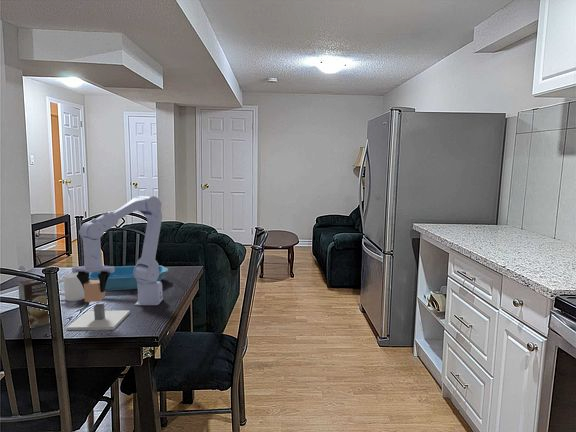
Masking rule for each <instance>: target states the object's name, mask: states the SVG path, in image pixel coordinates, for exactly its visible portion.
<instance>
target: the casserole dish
mask: <svg viewBox="0 0 576 432" xmlns="http://www.w3.org/2000/svg"><path fill="white" fill-rule="evenodd" d="M135 266H136V265H125V266H124V265H122V266H118V265H117V266H114V267H115V272H113V273H110V275H109V277H108V279H107V282H106V286H105V291H123V290H125V291H126V290H138V287H137V280H136V278H135V277H134V275H133V270H134V268H135ZM158 269H159V277H158V279H157V281H160V282H162V278H163V275H164V274H167V272H169V268H168V267H165V266H163V265H159V267H158ZM100 273H101V272H89V280H99V277H98V274H100Z"/></svg>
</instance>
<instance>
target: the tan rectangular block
mask: <svg viewBox="0 0 576 432" xmlns="http://www.w3.org/2000/svg"><path fill="white" fill-rule="evenodd" d="M84 297H85V298H84V302H85V303H87V302H89V303H91V302H92V303H94V302H95V303H97V302H98V303H99V302H101V301H102V300H103V299H105V298H106V290H105V291H104V292H101V291H100V281H99V280H89V281H88V282H86V283H84Z"/></svg>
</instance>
